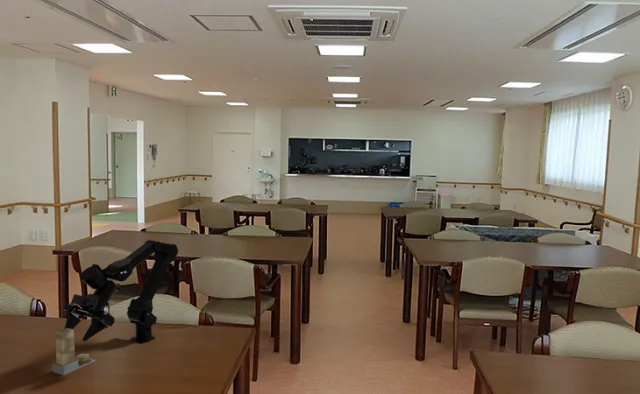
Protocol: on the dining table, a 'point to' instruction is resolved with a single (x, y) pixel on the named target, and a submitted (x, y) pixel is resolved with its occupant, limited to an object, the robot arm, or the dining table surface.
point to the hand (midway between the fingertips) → (73, 338)
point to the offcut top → (82, 357)
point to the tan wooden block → (65, 347)
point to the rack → (67, 367)
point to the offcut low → (84, 361)
